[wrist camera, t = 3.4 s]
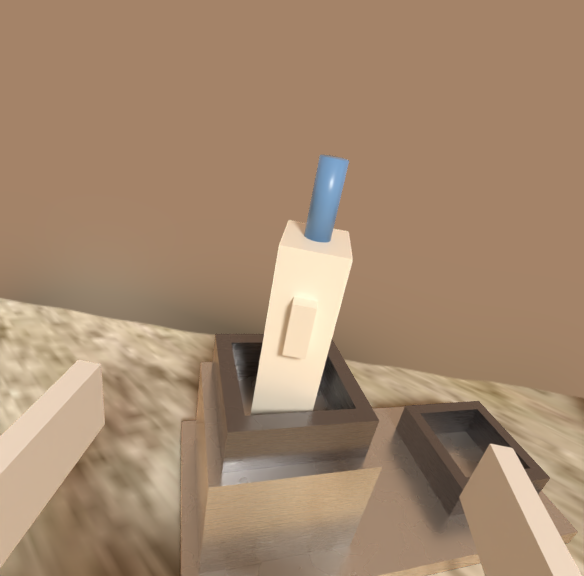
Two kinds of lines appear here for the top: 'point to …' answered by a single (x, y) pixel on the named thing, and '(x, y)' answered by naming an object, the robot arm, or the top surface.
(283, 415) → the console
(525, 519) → the robot arm
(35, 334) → the top surface
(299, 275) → the plug
